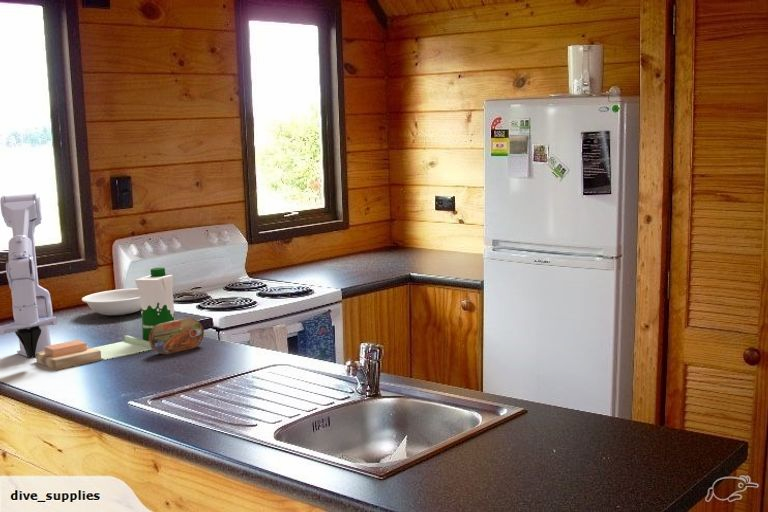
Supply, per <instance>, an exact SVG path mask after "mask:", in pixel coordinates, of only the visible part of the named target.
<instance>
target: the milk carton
mask: <svg viewBox="0 0 768 512" xmlns="http://www.w3.org/2000/svg"><path fill="white" fill-rule="evenodd" d="M173 280H174V275H173V274H166V268H165V267H154V268H150V275H146V276H141V277H140V278H136V279H135V280H134V281H135V284H136V287H137V288H138V291H139V295H140V304H141V310H140V311H141V312H140V313H141V322H142V323H141V324H142V327H141V328H142V340H145V341H148V342H149V334H150V332H151V330H152V329H153V327H154V326H156V325H157V324H160V323H165V322H170V321H175V320H176V316H175V313H176V312H175V304H174V303H175V302H174V294H173Z"/></svg>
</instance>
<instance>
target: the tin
mask: <svg viewBox="0 0 768 512" xmlns="http://www.w3.org/2000/svg"><path fill="white" fill-rule="evenodd" d="M204 331H205V330H204V327H203V325H202V323H201V322H200V321H199V319H196V318H193V317H185V318H180V319H175V321H170V322H165V323H160V324H157V325H156V326H154V327H153V329H152V330H151V332H150V334H149V341H148V342H149V343H150V346H151V347H152V349H153V350H152V351H154V352H157V353H158V354H161V355H169V354H175V353H179V352H183V351H187V350H193V349H195V348H196V347H198V346H199V345H200V344H201V343H202V341H203V339H204V336H205V335H204V333H205V332H204Z"/></svg>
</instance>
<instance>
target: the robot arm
mask: <svg viewBox="0 0 768 512" xmlns="http://www.w3.org/2000/svg"><path fill="white" fill-rule="evenodd" d="M0 213H1V215H2V219H3V221H4V223H5V225H6V227H8V228H11V230H12V238H10V239H9V241H8V262H7V261H6V264H5V271H6V278H7V281H8V287H9V290H11V291H10V292H11V293H10V295H11V299H12V301H11V302H12V314H13V319H14V322H12V323H8V324H4V325H0V336H3V335H5V334H11V333H14V334H15V335H16V337H18V343H19V350H17V351H16V353H17V354H18V355H21V356H24V357H27V358H30V359H31V358H36V352H41V351H45V350H44V347H45V346H50V345H52V343H51V336H50V326H51V325H52V326H56V325H58V321H57V317H56V316H53V305H52V304H53V303H52V299H51V293H50V292H49V290H48V289H46V288H44V287H43V286H41V285H39V277H38V275H39V274H38V267H37V266H38V265H37V255H36V246H35V229H36V228H37V226H39V225H41V224H42V207H41V200H40V195H39V194H38V193H37V192H36V193H31V194H29V193H28V194H19V195H16V194H15V195H6V196H5V195H2V196H1V197H0Z"/></svg>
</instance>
